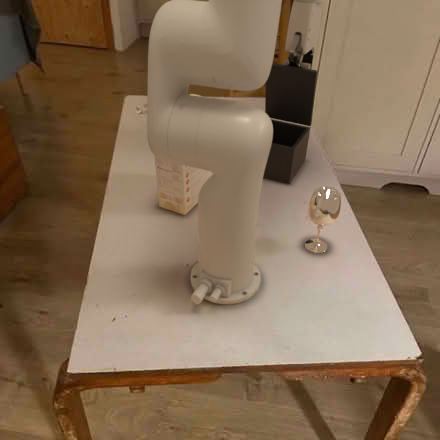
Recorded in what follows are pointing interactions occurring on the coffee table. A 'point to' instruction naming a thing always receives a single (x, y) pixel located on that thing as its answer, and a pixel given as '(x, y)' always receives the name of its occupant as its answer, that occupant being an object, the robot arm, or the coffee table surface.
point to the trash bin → (286, 151)
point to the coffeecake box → (179, 185)
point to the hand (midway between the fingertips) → (298, 77)
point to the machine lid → (291, 93)
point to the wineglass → (322, 214)
